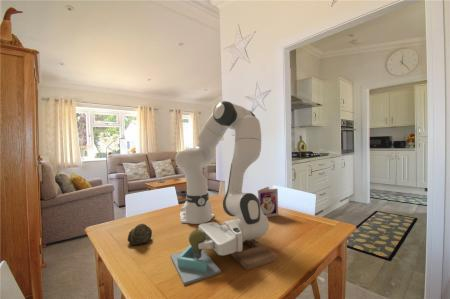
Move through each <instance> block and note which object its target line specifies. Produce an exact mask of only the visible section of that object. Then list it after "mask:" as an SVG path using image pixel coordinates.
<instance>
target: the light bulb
mask: <svg viewBox="0 0 450 299" xmlns="http://www.w3.org/2000/svg"><path fill="white" fill-rule="evenodd" d="M188 242H189V245H190V244H191V246H192V248H193V251H194V256H195V258H196V259H199V258H200V257H201V251H202V249H199V248H198V247H197V243H198V242H206V241H205V235H204V233H203V232H202V231H201V230H198V229H194V230H192V231H191V232H190V233H189V237H188Z"/></svg>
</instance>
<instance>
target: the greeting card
mask: <svg viewBox="0 0 450 299" xmlns="http://www.w3.org/2000/svg"><path fill="white" fill-rule="evenodd" d="M278 189H279V188H270V187H269V186H266V187H264V188H261V189H258V191H257V198H258V200H259V202H260V208H261V210H262V212H263V214H264V215H265V216H266V217H267V218H270V217H275V216H276V217H277V216H279V199H278V195H279V194H278V191H279V190H278Z"/></svg>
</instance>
